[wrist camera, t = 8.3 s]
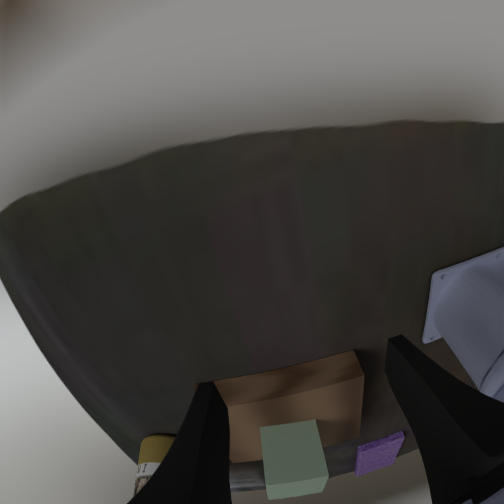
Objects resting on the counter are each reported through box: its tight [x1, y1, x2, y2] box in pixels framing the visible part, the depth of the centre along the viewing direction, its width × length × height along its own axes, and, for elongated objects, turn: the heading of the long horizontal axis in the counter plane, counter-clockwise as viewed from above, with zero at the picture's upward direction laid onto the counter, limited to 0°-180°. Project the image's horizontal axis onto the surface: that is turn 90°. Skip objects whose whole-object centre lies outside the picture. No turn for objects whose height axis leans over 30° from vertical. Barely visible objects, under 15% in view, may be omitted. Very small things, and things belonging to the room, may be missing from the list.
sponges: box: [355, 431, 405, 477], centre depth 36 cm, size 7×13×2 cm, turn 14°
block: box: [260, 419, 329, 500], centre depth 22 cm, size 5×5×6 cm
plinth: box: [194, 350, 365, 463], centre depth 26 cm, size 14×12×3 cm
